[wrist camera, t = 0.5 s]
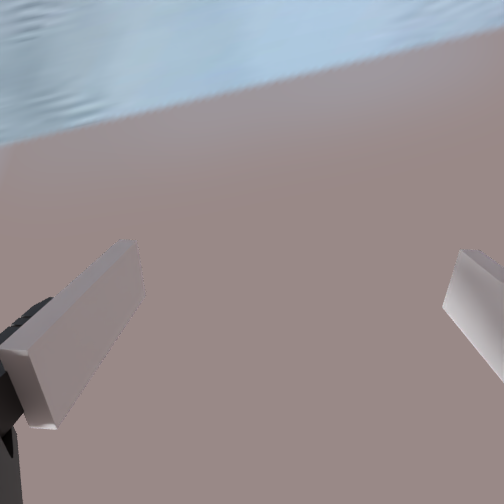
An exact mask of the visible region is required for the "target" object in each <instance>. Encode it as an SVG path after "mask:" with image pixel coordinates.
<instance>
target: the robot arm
mask: <svg viewBox="0 0 504 504" xmlns="http://www.w3.org/2000/svg"><path fill="white" fill-rule="evenodd" d="M145 296H146V293H145V287H144V280H143V274H142V268H141V262H140V255H139V250H138V243H137V240H118V241H117V242H116V243H115V244H114V245H113V246H111V247H110V248H109V249H108V250H107V251H106V252H105V253H104V254H102V255H101V256H100V257H99V258H98V259H97V260H96V261H95V262H94V263H92V264H91V265H90V266H89V267H88V268H87V269H86V270H84V271H83V272H82V273H81V274H80V275H79V276H78V277H76V278H75V279H74V280H73V281H72V282H71V283H70V284H69V285H67V286H66V287H65V288H64V289H63V290H62V291H61V292H60V293H58V294H57V295H56V296H55V297H49V298H47V299H45V300H44V301H42V302H40V303H38V304H36V305H34V306H33V307H31V308H30V309H29V310H28V311H27V312H26V313H24V314H23V315H22V316H21V318H18V319H17V320H16V321H15V322H14V323H12V325H11V327H8V328H7V329H5V330H4V331H3V332H2V333H1V334H0V504H23V501H22V490H21V479H20V467H19V454H18V442H17V433H16V431H15V429H14V427H13V425H14V423H15V422H16V421H17V420H18V419H19V417H20V416H21V415H22V414H23V413H24V415H25V418H26V420H27V422H28V425H29V427H30V428H42V429H56V430H57V429H58V427H59V425H60V424H61V422H62V421H63V420H64V418H65V417H66V415H67V414H68V412H69V411H70V409H71V408H72V406H73V405H74V403H75V401H76V400H77V398H78V397H79V396H80V394H81V392H82V391H83V390H84V388H85V387H86V385H87V384H88V382H89V380H90V379H91V377H92V376H93V375H94V373H95V372H96V370H97V369H98V367H99V365H100V364H101V363H102V361H103V360H104V358H105V357H106V355H107V354H108V352H109V351H110V349H111V347H112V346H113V344H114V343H115V341H116V340H117V338H118V337H119V335H120V334H121V332H122V331H123V329H124V328H125V326H126V325H127V323H128V322H129V320H130V319H131V317H132V316H133V314H134V313H135V311H136V310H137V308H138V307H139V305H140V304H141V302H142V301H143V299H144V298H145ZM442 308H443V309H444V310H445V311H446V313H447V314H448V315H449V316H450V317H451V319H452V320H453V321H454V322H455V324H456V325H457V326H458V327H459V329H460V330H461V331H462V332H463V333H464V335H465V336H466V337H467V338H468V339H469V341H470V342H471V343H472V344H473V345H474V347H475V348H476V349H477V351H478V352H479V353H480V354H481V356H482V357H483V358H484V359H485V361H486V362H487V363H488V364H489V365H490V367H491V368H492V369H493V370H494V372H495V373H496V374H497V375H498V376H499V378H500V379H501V380H502V381H503V383H504V267H503V266H501V265H500V264H498V263H497V262H496V261H494V260H493V259H492V258H490V257H489V256H487V255H486V254H485V253H483V252H482V251H480V250H460V251H459V254H458V257H457V261H456V264H455V267H454V271H453V274H452V277H451V280H450V284H449V287H448V290H447V293H446V297H445V300H444V303H443V307H442Z"/></svg>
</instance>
